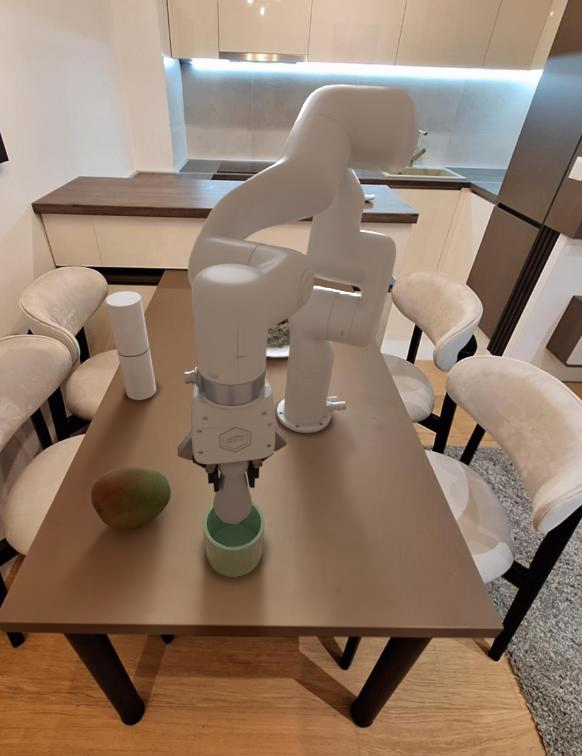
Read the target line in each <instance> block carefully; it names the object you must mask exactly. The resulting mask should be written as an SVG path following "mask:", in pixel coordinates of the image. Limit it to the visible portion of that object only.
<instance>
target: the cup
mask: <svg viewBox="0 0 582 756" xmlns="http://www.w3.org/2000/svg"><path fill="white" fill-rule="evenodd" d="M252 503H253V504H252V508H251V512H250V514H249V515H248V516H247V517H246V518H245V519H244V520H242V521H241V522H239V523H238V524H236V525H233V524H228V523H224V522H223V521H222V520H221V519H220V518H219V517H218V516H217V514H216V513H215V510H214V506H213V504H211V505H210V507H209V508H208V509H207V511H206V513H205V515H204V518H203V523H202V524H203V533H204V534H203V535H204V546H205V554H206V559H207V561H208V563H209V565H210V566H211V568H212V569H213V570H214V571H215V572H217V573H219V574H220V575H222V576H226V577H229V578H230V577H231V578H235V577H242V576H246V575H247V574H249V573H250V572H252V571H253V570H254V569H255V568H256V567H257V566H258V564H259V563H260V561H261V559H262V556H263V547H264V538H265V537H264V536H265V518H264V513H263V512H262V510H261V509H260V507H259V506H258V504H256V503H255V502H254V501H252Z"/></svg>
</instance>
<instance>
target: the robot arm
mask: <svg viewBox="0 0 582 756" xmlns="http://www.w3.org/2000/svg"><path fill="white" fill-rule="evenodd" d="M420 127H421V126H420V117H419V112H418V109H417V107H416V103H415V100H414V99H413V97H412V96H411V95H410V94H409V93H408V92H407V91H405V90H404V89H401V88H400V87H396V86H384V85H383V86H382V85H378V86H377V85H360V84H359V85H358V84H329V85H325V86H322V87H319V88H317V89H316V90H315V91H313V92H312V93H311V94H310V95H309V96H308V97H307V99H306V100H305V102H304V103H303V106H302V107H301V110H300V111H299V113H298V116H297V118H296V120H295V122H294V124H293V126H292V128H291V130H290V132H289V135H288V136H287V139H286V141H285V143H284V145H283V147H282V149H281V151H280V153H279V155H278V157H277V159H276V161H275V163H274V164H273V165H271V166H269V167H266V168H265V169H263V170H261V171H259V172H257V173H256V174H254V175H253V176H251V177H249V178H248V179H246V180H245V181H243V182H242V183H240V184H238V185H237V186H235V187H234V188H233V189H231V190H230V191H228V192H227V193H226V194H224V195H223V196H222V197H221V198H220V199H219V200H218V201H217V202H216V203H215V205H214V206H213V207H212V209H211V211H210V212H209V214H208V215H207V217H206V219H205V221H204V224H203V225H202V227H201V229H200V231H199V233H198V235H197V237H196V239H195V242H194V244H193V247H192V249H191V252H190V256H189V258H188V263H187V264H188V265H187V278H188V283H189V285H190V287H191V305H192V317H193V318H192V319H193V330H194V331H193V332H194V343H195V355H196V366H195V367H194V369H191V371H184V383H185V385H187V384H189V385H194V386H193V389H192V390H193V391H192V396H191V404H190V409H191V410H190V426H191V427H190V431H189V432H188V434H186V436H184V438H183V440H182V441H181V442H180V443H179V445H178V446H177V456H178V457H179V458H181V459H185V460H188V461H192V463H194V464H195V465H197V466H199V467H201V468H203V469H204V471H205V473H206V474H207V483H208V485H210V484H213V493H216V492H218V491H219V476H220V472H219V470H218V465H217V464H218V463H228V462H238V461H247V460H249V466H248V469H247V471H246V478H247V482H248V487H249V488H250V489H255V487H256V479H260V468H261V467H263V465H264V464H263V463H264V462H265V461H266V460H267V459H269V458H270V457H271V456H273V455H274V452H278V451H279V450H282V449H283V448H285V447H287V445H288V442H287V439H286V436H285V435H284V434H283V433H282V432H281V430H280V429H279V428H278V427H277V426H276V416H277V419H278V421H279V422H280V424H281V425H283V426H284V427H286V428H287V429H289V430H290V431H294V432H297V433H301V434H310V433H311V434H312V433H318V432H320V431H322V430H324V429H325V428H326V427H327V426H328V425H329V424H330V422H331V418H332V413H333V412H334V411H346V410H347V404H346V401H338V396H336V395H335V396H329V391H330V384H331V380H332V379H331V378H332V374H333V373H332V372H333V367H334V363H335V362H334V361H335V349H334V346H333V343H332V342H334V343H338V344H342V345H347V346H351V347H357V348H366V347H369V346H370V345H371V344H372V343H374V340H375V339H376V336H377V334H378V331H379V327H380V324H381V321H382V316H383V312H384V308H385V305H386V301H387V296H388V293H389V289H390V285H391V281H392V278H393V273H394V269H395V264H396V258H397V247H396V246H397V245H396V243H395V241H394V239H393V238H392V237H390V236H389V235H387V234H384V233H381V232H374V231H368V230H361V222H362V217H363V212H364V208H365V204H366V197H365V192H364V190H363V187H362V185H361V182H360V180H359V178H358V176H357V175H356V172H355V171H354V170H360V171H372V172H380V173H387V174H388V173H390V174H399V173H401V172H402V171H404V170H405V169H406V168H407V167H408V165H409V164H410V163H411V161H412V160H413V157H414V154H415V152H416V149H417V145H418V142H419V138H420ZM309 218H312V221H311V225H310V231H309V237H308V241H307V243H308V244H307V247H306V253H303V252H301V251H299V250H296V249H293V248H289V247H284V246H280V245H279V246H278V245H273V244H268V243H262V242H257V241H251V240H246V239H248V238H249V237H251V236H253V235H254V234H256V233H258V232H260V231H262V230H265V229H268V228H272V227H275V226H281V225H285V224H290V223H293V222H299V221H301V220H305V219H309ZM315 279H320V280H324V281H328V282H333V283H336V284H337V283H338V284H343V285H349V286H353V287H356V288H358V289H359V290H360V292H361V294H358V293H353V292H348V291H342V290H339V289H334V288H329V287H324V286H319V285H315V281H316V280H315ZM287 318H288V322H289V333H290V344H289V357H287V358H288V359H287V369H286V377H285V378H286V379H285V388H284V389H285V391H284V398H283V399H281V400H280V402H279V403H278V405H277V408H276V409H275V399H274V394H273V389H272V386H271V385H270V383H269V381H268V378H267V377H266V373H267V357H266V353H267V334H268V329H269V328H271V327H272V326H274V325H276V324H278V323H280V322H282V321H284V320H285V319H287ZM275 410H276V411H275Z"/></svg>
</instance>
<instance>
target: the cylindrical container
mask: <svg viewBox="0 0 582 756" xmlns="http://www.w3.org/2000/svg"><path fill="white" fill-rule="evenodd" d="M105 303H106V308H107V312H108V316H109V322H110V325H111V330H112V335H113V339H114V343H115V348H116V352H117V353H116V354H117V358H118V361H119V366H120V370H121V374H122V379H123V383H124V388H125V393H126V396H127V397H128V398H129V399H131V400H135V401H142V400H146V399H147V400H148V399H150V398H151V397H153V396H154V395H155V393H156V391H157V386H156V380H155V374H154V373H155V372H154V368H153V362H152V356H151V350H150V344H149V338H148V331H147V325H146V319H145V312H144V307H143V299H142V296H141V294H140V293H138V292H136V291H132V290H131V291H130V290H123V291H117V292H113V293H111V294H110V295H108V296H107V297H106V298H105Z"/></svg>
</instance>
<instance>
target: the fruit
mask: <svg viewBox="0 0 582 756" xmlns="http://www.w3.org/2000/svg"><path fill="white" fill-rule="evenodd" d="M170 485H171V484H170V483H169V481H168V479H167V478H166V476H165V475H164V474H163V473H161V472H159V471H156V470H153V469H149V468H143V467H139V466H122V467H117V468H114V469H111V470H110V471H108V472H106V473H104V474H102V476H100V477H99V478H98V479H97V480H96V481H95V483H94V484H93V486H92V488H91V493H90V497H91V504H92V506H93V510H94V511H95V512H96V514H97V516H98V517H99V518H100V519H101V521H102V522H103V523H104V524H105V525H106V526H107V527H109V528H111V529H114V530H120V531H127V530H132V529H136V528H140V527H143V526H145V525H147V524H149V523H150V522H152V521H153V520H155V519H156V518H157V517H158V516H159V515H160V514H161V513H162V512H163V511H164V510H165V509H166V507H167V506H168V504H169V502H170V499H171V494H172V492H171V491H172V490H171V486H170Z"/></svg>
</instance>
